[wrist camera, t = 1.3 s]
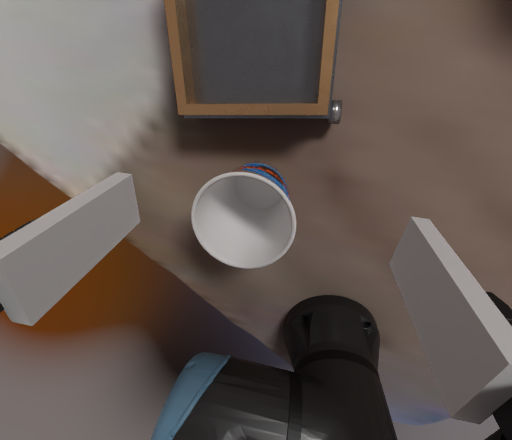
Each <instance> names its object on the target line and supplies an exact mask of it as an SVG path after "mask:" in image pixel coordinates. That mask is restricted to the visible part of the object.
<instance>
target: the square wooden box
mask: <svg viewBox="0 0 512 440" xmlns="http://www.w3.org/2000/svg"><path fill="white" fill-rule="evenodd" d="M164 4H165V12H166V20H167V28H168V36H169V44H170V52H171V60H172V68H173V76H174V84H175V92H176V100H177V108H178V115H184V118H290V119H327V124H339V122H340V118H341V111H342V101H341V100H332V93H333V83H334V74H335V64H336V55H337V45H338V36H339V26H340V17H341V7H342V0H164Z"/></svg>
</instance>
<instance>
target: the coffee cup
mask: <svg viewBox="0 0 512 440" xmlns="http://www.w3.org/2000/svg"><path fill="white" fill-rule="evenodd" d="M203 192H204V193H203ZM199 198H200V199H199ZM198 200H199V201H198ZM191 221H192V226H193V230H194V233H195V235H196V237H197V239H198V241H199V243H200V244H201V245H202V247H203V248H204V249H205V250H206V251H207V252H208V253H209V254H210V255H211V256H213V257H214V258H215V259H217V260H219V261H220V262H222V263H224V264H227V265H230V266H233V267H237V268H244V269H252V268H260V267H264V266H267V265H269V264H271V263H273V262H275V261H277V260H278V259H279V258H281V257H282V256H283V255H284V254H285V253H286V252H287V250H288V249H289V248H290V246H291V244H292V242H293V240H294V237H295V233H296V216H295V212H294V209H293V206H292V204H291V202H290V197H289V192H288V188H287V185H286V183H285V180H284V178H283V176H282V175H281V173H280V172H279V171H278V170H277V169H276V168H275V167H274V166H272V165H270V164H268V163H265V162H251V163H247V164H245V165H243V166H241V167H239V168H237V169H235V170H234V171H232V172H230V173H225V174H222V175H219V176H217V177H215V178H213V179H211V180H210V181H208V182H207V183H206V184H205V185H204V186H203V187H202V188H201V189H200V190H199V192H198V193H197V195H196V197H195V199H194V202H193V205H192V211H191ZM291 230H292V231H291ZM290 235H291V236H290ZM289 238H290V239H289Z"/></svg>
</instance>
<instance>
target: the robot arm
mask: <svg viewBox="0 0 512 440" xmlns="http://www.w3.org/2000/svg"><path fill="white" fill-rule="evenodd" d="M139 223H140V217H139V212H138V206H137V201H136V195H135V190H134V184H133V179H132V174H126V173H119V172H117V173H115V174H113V175H111V176H110V177H108V178H106V179H105V180H103V181H101V182H100V183H98V184H96V185H94V186H93V187H91V188H89V189H88V190H86V191H84V192H82V193H81V194H79V195H77V196H76V197H74V198H72V199H71V200H69V201H67V202H66V203H64V204H62V205H60V206H59V207H57V208H55V209H54V210H52V211H50V212H48V213H47V214H45V215H43V216H42V217H40V218H38V219H35V220H32V221H29V222H27V223H26V224H24V225H22V226H20V227H19V228H17V229H16V230H15V231H12V232H10V233H8V234H7V235H5V236H4V238H0V312H1V311H3V310H4V311H5V312H6V314H7V315H8V317H9V318H10V320H11V321H12V322H16V323H21V324H25V325H30V326H33V325H34V324H35V323H36V322H37V321H38V320H39V319H40V318H41V317H42V316H43V315H44V314H45V313H46V312H47V311H48V310H49V309H50V308H51V307H52V306H53V305H54V304H56V302H58V301H59V300H60V298H61V297H62V296H64V295H65V294H66V293H67V292H68V291H69V290H70V289H71V288H72V287H73V286H74V285H75V284H76V283H77V282H78V281H79V280H80V279H81V278H82V277H84V276H85V275H86V274H87V273H88V272H89V271H90V270H91V269H92V268H93V267H94V266H95V265H96V264H97V263H98V262H99V261H100V260H101V259H102V258H103V257H104V256H105V255H106V254H107V253H108V252H109V251H111V250H112V249H113V248H114V247H115V246H116V245H117V244H118V243H119V242H120V241H121V240H122V239H123V238H124V237H125V236H126V235H127V234H128V233H129V232H130V231H131V230H132V229H133V228H134V227H135V226H136V225H137V224H139ZM389 265H390V268H391V270H392V273H393V275H394V278H395V280H396V283H397V285H398V288H399V290H400V293H401V295H402V298H403V300H404V303H405V305H406V307H407V310H408V312H409V315H410V317H411V320H412V322H413V325H414V327H415V330H416V332H417V335H418V337H419V340H420V342H421V345H422V347H423V350H424V352H425V355H426V357H427V360H428V362H429V365H430V367H431V370H432V372H433V375H434V377H435V380H436V382H437V385H438V387H439V390H440V392H441V395H442V397H443V400H444V402H445V405H446V407H447V410H448V412H449V415H450V417H451V418H454V419H458V420H463V421H467V422H472V423H476V424H481V423H482V422H483V421H484V420H486V419H487V418H488V417H489V416H491V415H492V414H493V416H494V418H495V420H496V422H497V423H498V425H499V427H500V429H499V430H497V431H496V432H495V433H493V434H492V435H490V436H489V437H488V438H486V439H485V440H512V310H511V309H510V307H509V306H508V305H507V304H505V303H504V302H503V301H502V300H500V299H499V298H498V297H497V296H495V295H494V294H493V293H491V292H485V291H484V290H483V288H482V287H481V286H480V285H479V283H478V282H477V281H476V279H475V278H474V277H473V275H472V274H471V273H470V272H469V270H468V269H467V268H466V266H465V265H464V264H463V262H462V261H461V260H460V259H459V257H458V256H457V255H456V253H455V252H454V251H453V249H452V248H451V247H450V246H449V244H448V243H447V242H446V240H445V239H444V238H443V236H442V235H441V234H440V232H439V231H438V230H437V229H436V227H435V226H434V225H433V223H432V222H431V221H430V219H424V218H417V217H411V218H410V220H409V222H408V224H407V226H406V229H405V231H404V233H403V235H402V237H401V239H400V241H399V243H398V246H397V248H396V250H395V252H394V254H393V256H392V258H391V261H390V263H389ZM284 337H285V343H286V346H287V349H288V353H289V356H290V359H291V362H292V365H293V368H294V372H291V371H287V370H284V369H279V368H275V367H271V366H267V365H263V364H259V363H255V362H251V361H247V360H243V359H238V358H234V357H232V356H231V355H227V356H225V355H219V354H213V353H208V352H202V353H199V354H197V355H195V356H194V357H193V358H192V359H191V360H190V361H189V362H188V363H187V364H186V366H185V367H184V369H183V370H182V372H181V373H180V375H179V377H178V379H177V380H176V382H175V384H174V386H173V388H172V390H171V392H170V394H169V396H168V398H167V400H166V402H165V404H164V406H163V409H162V411H161V413H160V416H159V418H158V421H157V423H156V426H155V429H154V431H153V434H152V437H151V440H397V437H396V433H395V430H394V426H393V423H392V419H391V416H390V412H389V409H388V405H387V402H386V399H385V395H384V392H383V388H382V385H381V382H380V378H379V374H378V359H379V346H380V336H379V331H378V328H377V325H376V322H375V320H374V318H373V316H372V314H371V313H370V312H369V311H368V310H367V309H366V308H365V307H364V306H362V305H361V304H359V303H358V302H356V301H354V300H351V299H348V298H345V297H341V296H333V295H324V296H317V297H312V298H309V299H306V300H304V301H302V302H300V303H299V304H297V305H296V306H295V307H294V308H293V309H292V310H291V311H290V312H289V314H288V316H287V318H286V321H285V332H284Z"/></svg>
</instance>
